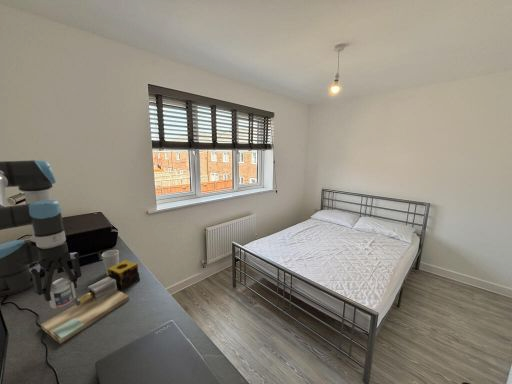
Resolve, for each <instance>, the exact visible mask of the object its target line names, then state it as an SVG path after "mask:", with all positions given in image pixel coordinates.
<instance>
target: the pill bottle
mask: <svg viewBox="0 0 512 384" xmlns="http://www.w3.org/2000/svg"><path fill="white" fill-rule="evenodd" d="M68 281H69V280H68V279H67V278H66V277H61V278H59V279H56V280H54V281H52V283H51V286H52V287H51V289H50V290H51V291H53V293H54V298H55V303H56V307H57V308H60V307H65V306H67V305H68V304H70V303H71V302H73V299H74V298H73V297H72V292H71V286H70V284H69V283H67V282H68Z"/></svg>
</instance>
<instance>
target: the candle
mask: <svg viewBox="0 0 512 384" xmlns="http://www.w3.org/2000/svg"><path fill="white" fill-rule="evenodd" d="M107 276H108V277H111V278H113V279H115V280H116V285H117V290H118V291H125V290H126V289H128V288H129V287H131V286H132V285H134V284H136V283H138V282H139V281H140V280H141V278H140V273H139V264H138V263H136V262H132V261H129V260H128V259H124V260H123V261H121V262H120V261H119V263H118V264H116V265H114V266H112V267H110V268H108V275H107ZM137 281H138V282H137ZM135 282H136V283H135Z"/></svg>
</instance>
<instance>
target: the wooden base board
mask: <svg viewBox="0 0 512 384" xmlns="http://www.w3.org/2000/svg"><path fill="white" fill-rule="evenodd" d="M87 291H88V293H89V292H91V291H93V292H94V294H95V297H93V298H91V299H90V300H88V301H86V302H84V303H82V304H81V305H79V306H77V305H76V304H75V305H72V306H71V307H70V308H68V309H66V310H64V311H62V312H61V313H59V314H57V315H55V316H53V317H51V318H49V319H47V320H45V321H44V322H42V323H40V327H41V328H40V329H41V330H43V331H44V332H45V333H46V334H48V335H49V337H50V336H51V338H52V339H54V340H55V341H56V342H58V343H59V344H60V345H61V344H63V343H64V342H66V341H67V340H69V339H70V338H72V337H73V336H75V335H76V334H78V333H80V332H82V331H83V330H84V329H86V328H88V327H90V325H92V324H94V323H95V322H97V321H99V320H100V319H102V318H103V317H105V316H106V315H108V314H109V313H111V312H112V311H114V310H116V309H117V308H119V307H120V306H121V305H123V304H124V303H126V302H128V301H129V300H130V295H129V294H126V293H124V292H123V291H121V290H119V289H117V285H116V280H115V279H113V278H111V277H109V276H107V277H105V278H104V277H103V279H101V280H98V281H97V282H95V283H93V284H91V285H88V286H87Z"/></svg>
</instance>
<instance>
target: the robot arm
mask: <svg viewBox="0 0 512 384" xmlns="http://www.w3.org/2000/svg"><path fill="white" fill-rule="evenodd" d="M56 183H57V181H56V177H55V175H54V171H53V169H52V167H51V165H50V163H49V162H48V161H46V160H36V159H34V160H33V159H31V160H11V161H9V160H5V161H3V160H2V161H1V160H0V231H3V230H7V229H12V228H18V227H24V226H25V227H26V226H31V230H32V235H31V236H30V237H29V240H28V241H25V240H23V239H16V240H11V241H6V242H5V243H1V244H0V297H1V298H2V297H6V295H8V296H12V295H15V294H18V293H20V292H23V291H25V290H27V289H29V288H32V287H34V288H33V289H34V293H35V294H37V295H38V296H41V295H43V299H44V300H45V301H46V302H48V303H49V306H50V307H51V308H52V309H53V310H55V309H56V308H58V307H56V303H55V298H54V293H53V291H51V290H52V283H53V276H54V273H55V271H56V270H57V269H60V268H61V269H62V271H63V272H64V273H65V275H66V276H67V278H68V279H69V280H67V281H68V282H67V283H69V284H70V286H71V292H72V297H73V299H77V296H76V288H78V283H77V281H78V279H79V278H81V277H82V271H81V266H80V260H79V257H80V253H78V252H76V251H73V252H69V249H68V244H67V243H68V242H67V241H66V240H67V237H66V231H65V228H64V224H63V223H64V221H63V215H62V208H61V205H60V203H59V201H58V200H55V199H51V194H50V191H51V189H53V185H54V184H56ZM13 187H18V190H19V192H21V193H24V198H25V202H26V203H24V204H19V205H18V204H17V205H9V206H8V205H7V196H6V188H13ZM69 259H70V260H71V265H72V270H73V272H72V270H71V268H70V267H69V265H68V263H67V262H68V261H69ZM35 263H38V264H37V265H35V266H33V267H30V265H31V264H35ZM41 268H43V269H44V278H43V283H42V279H41V275H40V272H41Z"/></svg>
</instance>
